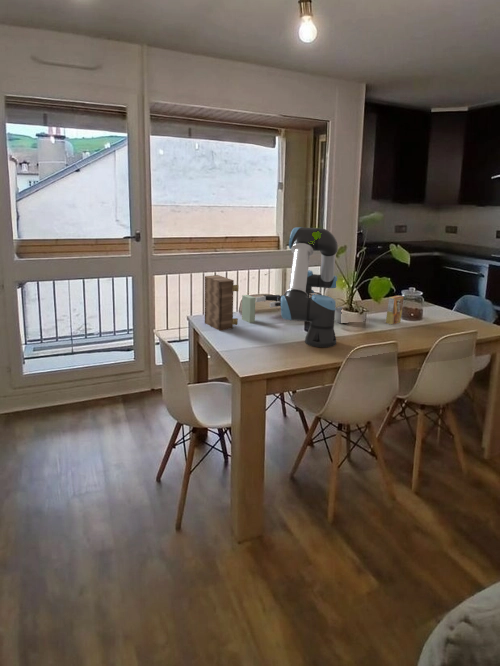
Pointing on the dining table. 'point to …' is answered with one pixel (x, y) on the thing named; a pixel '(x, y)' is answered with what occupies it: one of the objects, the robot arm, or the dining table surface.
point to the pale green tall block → (248, 308)
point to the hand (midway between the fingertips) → (262, 302)
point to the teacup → (338, 314)
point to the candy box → (394, 309)
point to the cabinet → (219, 302)
